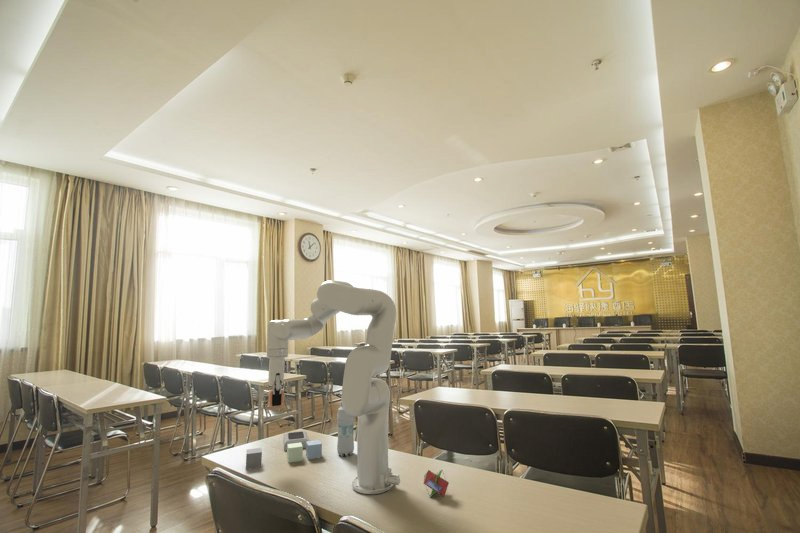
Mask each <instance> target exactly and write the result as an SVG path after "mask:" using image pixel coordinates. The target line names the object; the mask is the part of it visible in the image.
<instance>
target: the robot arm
mask: <svg viewBox="0 0 800 533" xmlns="http://www.w3.org/2000/svg"><path fill="white" fill-rule="evenodd" d="M341 312H342V313H344V314H348V315H353V316H371V320H370V322H369V324H368V327H367V329H366V330H367V331H366V338H365V343H364V345H361V346H356V347H355V348H353V349H352V350H351V351H350V352H349V353H348V356H347V358H346V359H345V364H344V365H345V366H344V372H343V379H342V387H341V395H340V397H341V398H340V399H341V402H342V406H343V409H344V410H345V412H346V413H347V414H348V415H350V416H353V417H354V418H355V417H357V418H358V419H357V432H356V433H357V434H356V435H357V436H356V438H357V439H356V442H357V445H356V446H357V449H356V450H357V452H356V453H357V454H356V455H357V458H356V459H357V468H356V470H357V471H356V472H357V474H356V475H357V477H355V478H354V479H353V480H352V482H351V483H352V484H351V486H352V487H351V488H352V489H353V490H354V491H355V492H357V493H360V494H364V495H378V494H382V493H386V492H388V491H390V490H391V489H392V488H393V487H394V486H400V484H401V477H400V474H393V472H392V467H389V411H390V410H389V409H390V403H391V389H390V386H389V385H388V383H387V382H386V381H385V380H383V379H382V378H379V377H377V376H379V375H382V374H384V373H386V372H387V371H388V369H389V368H390V366H391V365H390V364H391V358H392V351H393V342H394V333H395V332H394V331H395V327H396V326H395V325H396V322H397V321H396V320H397V308H396V304H395V302H394V301H393V299H392V297H390V296H389V295H388V294H387V293H385V292H384V291H381V290H377V289H371V288H362V287H356V286H353V285H352V284H351V283H349V282H347V281H339V280H331V279H330V280H327V281H324V282H322V283H321V284H320V285H319V286H318V288H317V291H316V298H314V300H312V301H311V303H310V313H311V315H309V316H307V317H306V318H290V319H274V320H269V321H268V323H267V341H266V342H267V343H266V344H267V345H266V358H267V359H269V361H268V362H269V363H268V386H269V387H271V390H273V394H272V406H275V407H281V406H280V405H281V397H282V394H281V389H282V386H283V385H284V379H285V362H286V360H285V358H288V357H289V341H295V340H305V339H309V338H311V337H313V336H314V335H316V334H318V333H319V332H320V331H322V330H323V329H324V328H325V326H326V325H327V323H328V321H329V320H330V319H331V318H332V317H334V316H336V315H337V314H339V313H341Z"/></svg>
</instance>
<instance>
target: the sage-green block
mask: <svg viewBox="0 0 800 533" xmlns="http://www.w3.org/2000/svg"><path fill="white" fill-rule="evenodd" d="M303 453H304V452H303V446H302V443H301V442H300V443H292V444H287V451H286V459H287V460H286V461H287V464H290V463H296V462H303V458H304V457H303Z"/></svg>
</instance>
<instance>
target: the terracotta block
mask: <svg viewBox="0 0 800 533" xmlns="http://www.w3.org/2000/svg"><path fill="white" fill-rule="evenodd" d="M272 394H273V390H272V389H271V390H270V389H269V390H268V407H269V408H272V407H276V406H272ZM281 394H282V397H281V405H280V406H279V407H283V406H284V405H285V404H284V402H285V400H284V399H285V392H284V389H283V388H281Z"/></svg>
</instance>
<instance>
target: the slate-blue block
mask: <svg viewBox="0 0 800 533" xmlns="http://www.w3.org/2000/svg"><path fill="white" fill-rule="evenodd" d="M322 450H323V444H322V442H321V440H320V439H316V440H309V441H307V442H306V448H305V456H307V457H306V459H307V460H308V459H310V460H315V459H314V458H317V459H320V458H319V457H323V456H322V453H323V452H322Z"/></svg>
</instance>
